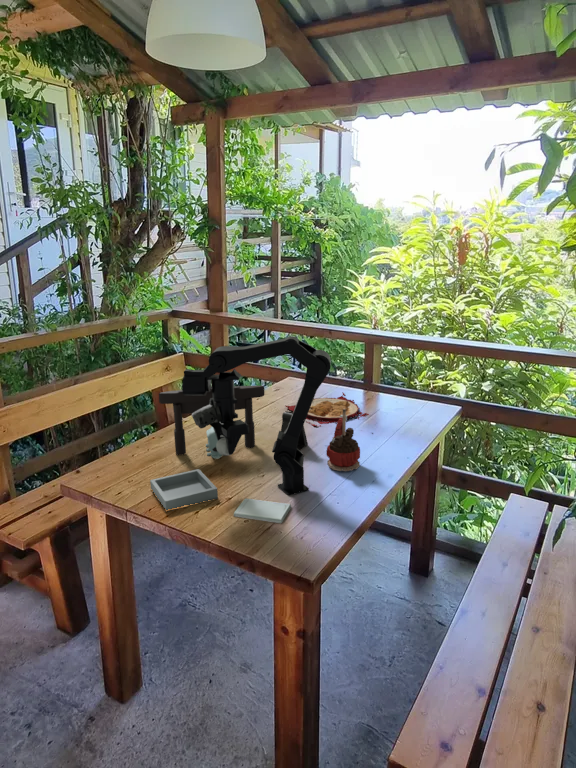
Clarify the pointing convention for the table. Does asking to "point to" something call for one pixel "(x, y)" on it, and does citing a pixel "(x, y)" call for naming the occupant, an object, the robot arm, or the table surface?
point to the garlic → (222, 446)
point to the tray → (183, 489)
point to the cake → (343, 447)
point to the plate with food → (330, 409)
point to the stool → (196, 402)
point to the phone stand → (302, 437)
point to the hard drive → (262, 510)
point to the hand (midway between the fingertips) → (226, 450)
